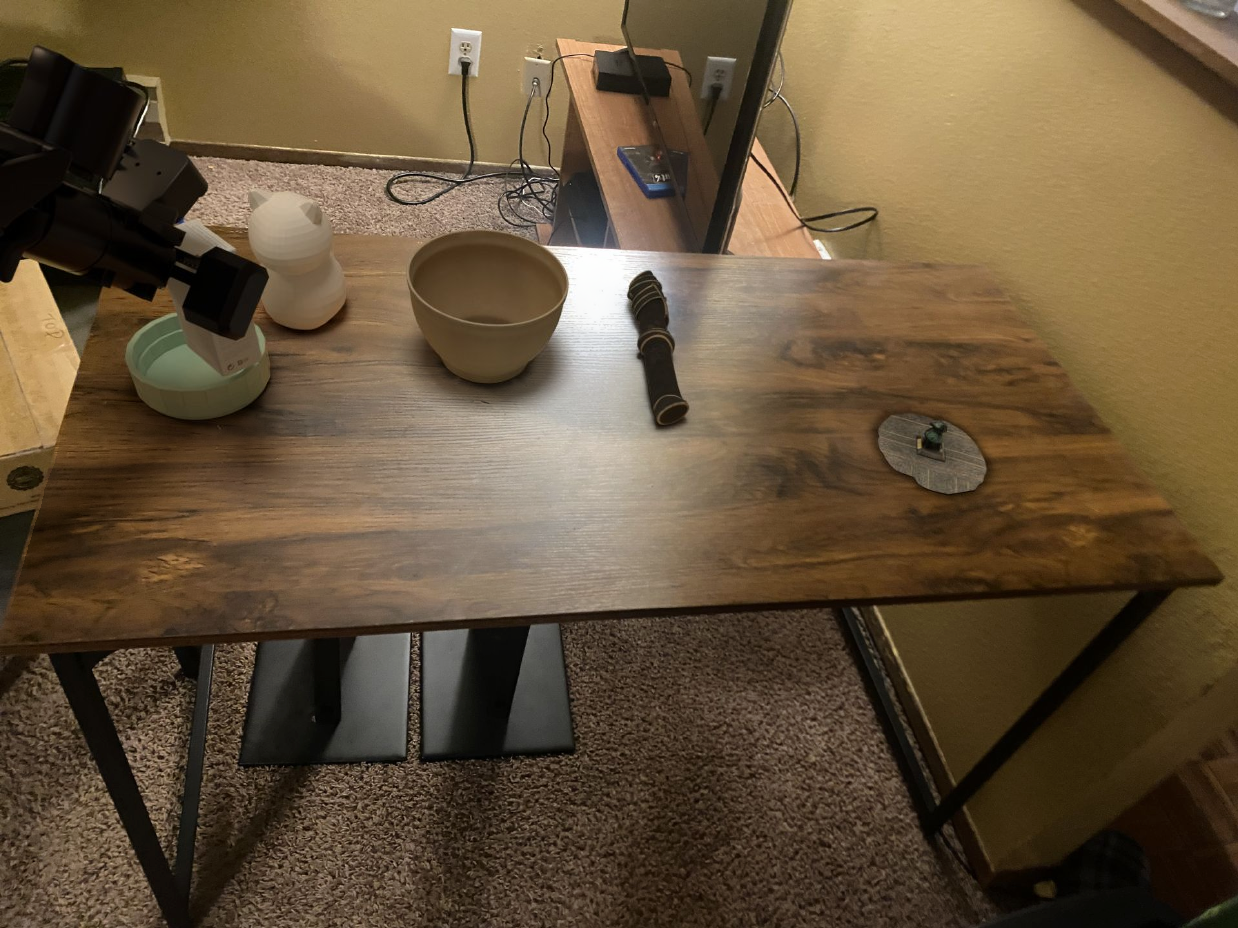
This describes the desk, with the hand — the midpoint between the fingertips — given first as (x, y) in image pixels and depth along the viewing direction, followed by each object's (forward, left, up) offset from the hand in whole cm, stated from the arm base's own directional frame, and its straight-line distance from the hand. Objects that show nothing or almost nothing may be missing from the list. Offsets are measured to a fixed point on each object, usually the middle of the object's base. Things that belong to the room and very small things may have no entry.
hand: (221, 288), depth 74 cm
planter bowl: (+24, +3, -12) cm, 27 cm away
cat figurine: (+6, +13, -12) cm, 19 cm away
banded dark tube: (+43, +2, -12) cm, 45 cm away
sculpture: (+70, -17, -12) cm, 73 cm away
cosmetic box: (-1, -1, -7) cm, 7 cm away
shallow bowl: (-4, +2, -12) cm, 13 cm away
